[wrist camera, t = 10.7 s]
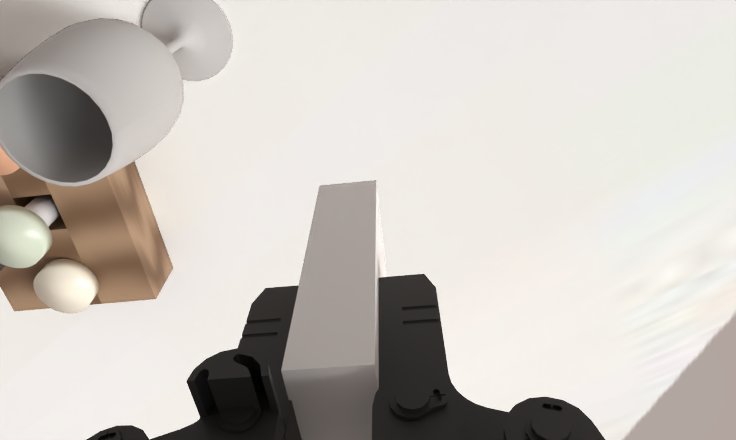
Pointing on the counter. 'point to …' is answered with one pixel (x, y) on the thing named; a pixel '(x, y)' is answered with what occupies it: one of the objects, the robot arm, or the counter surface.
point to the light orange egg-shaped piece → (6, 164)
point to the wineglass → (108, 89)
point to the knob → (66, 285)
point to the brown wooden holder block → (93, 237)
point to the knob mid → (26, 231)
